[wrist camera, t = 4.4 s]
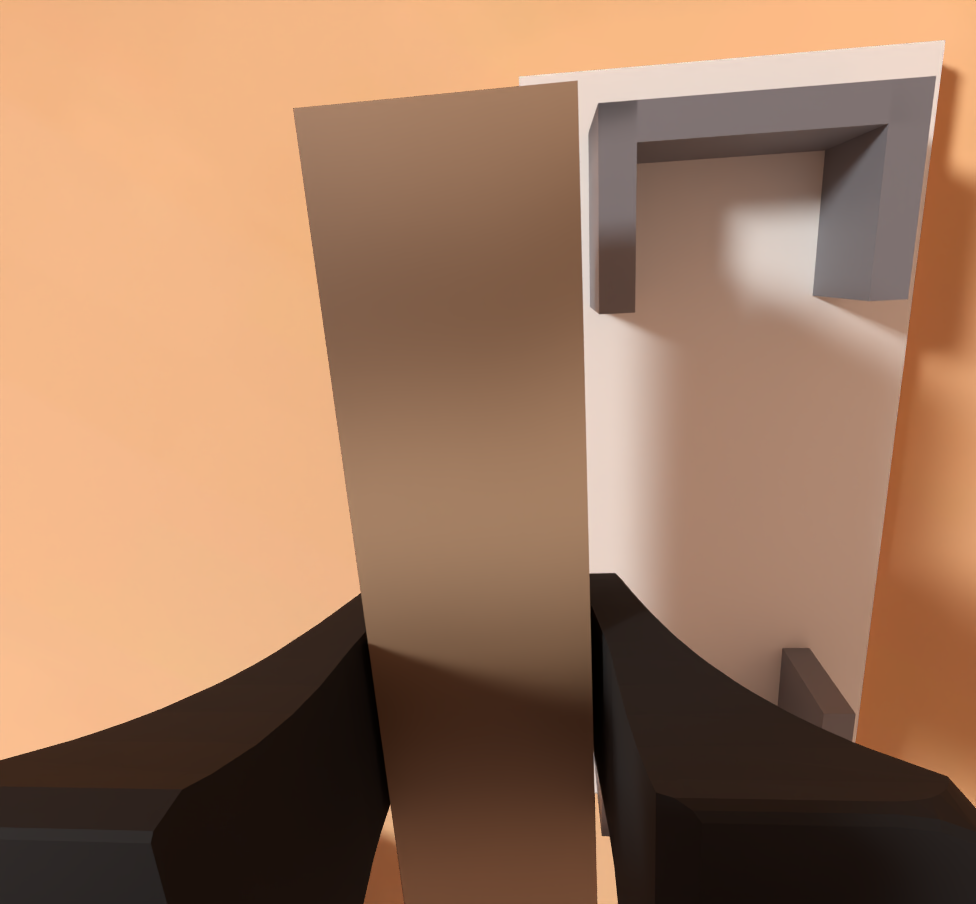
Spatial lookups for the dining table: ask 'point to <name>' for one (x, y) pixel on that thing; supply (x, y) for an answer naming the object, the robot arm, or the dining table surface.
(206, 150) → the dining table surface
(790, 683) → the board
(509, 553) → the slat
